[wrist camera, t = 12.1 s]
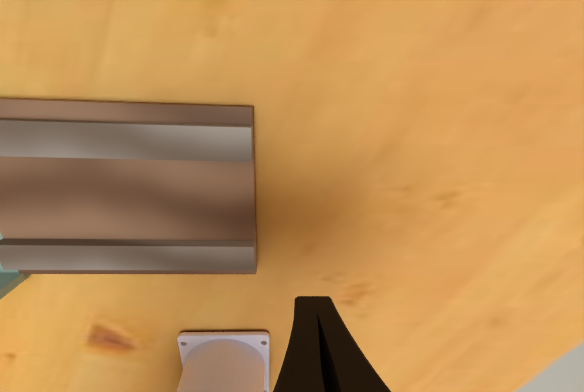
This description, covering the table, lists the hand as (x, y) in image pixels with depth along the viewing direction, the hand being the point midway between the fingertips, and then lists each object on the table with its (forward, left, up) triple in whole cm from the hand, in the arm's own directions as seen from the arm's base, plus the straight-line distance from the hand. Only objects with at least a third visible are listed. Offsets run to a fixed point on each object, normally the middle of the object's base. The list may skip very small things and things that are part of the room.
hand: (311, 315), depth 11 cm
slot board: (+1, +12, -9) cm, 15 cm away
